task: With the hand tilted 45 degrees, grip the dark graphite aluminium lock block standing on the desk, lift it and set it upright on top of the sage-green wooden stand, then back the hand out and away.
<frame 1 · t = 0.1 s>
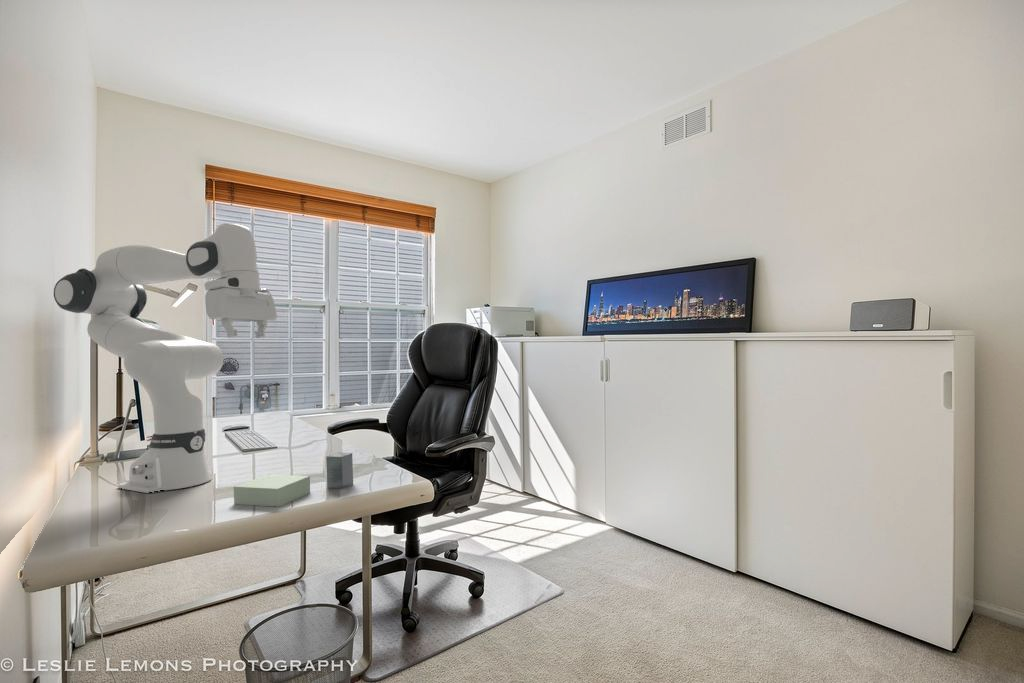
hand: (246, 337, 131), 39 cm above the table, tool pointing down, fingers open, 8 cm apart
lock block: (340, 486, 128), on the table
stand: (273, 498, 119), on the table
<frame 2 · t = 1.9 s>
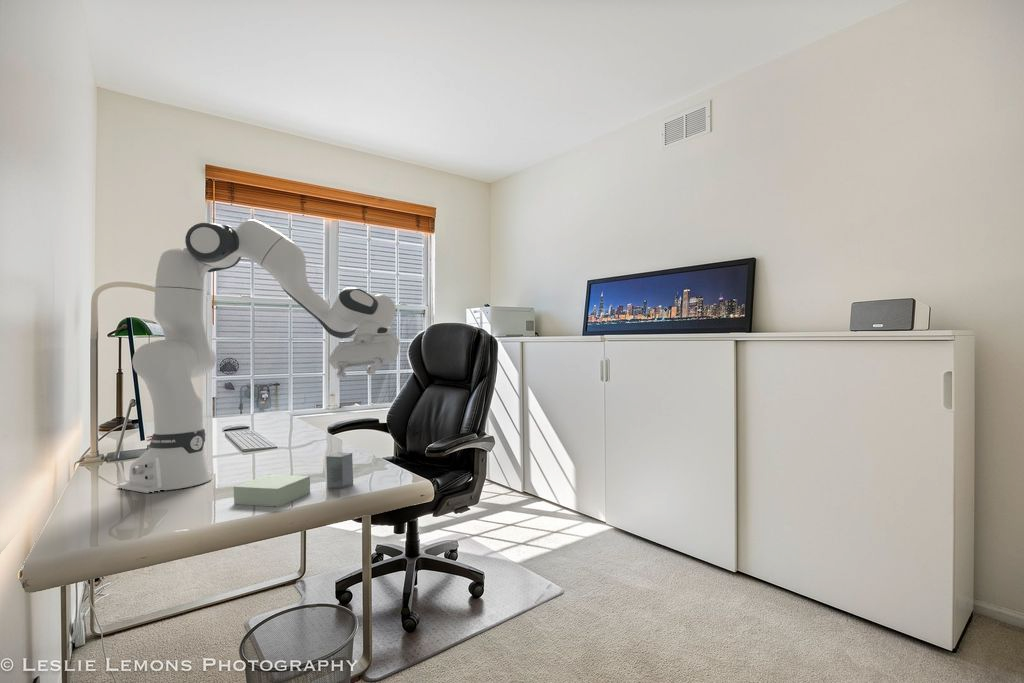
hand: (354, 375, 139), 28 cm above the table, tool tilted 45°, fingers open, 8 cm apart
nothing on the table moved.
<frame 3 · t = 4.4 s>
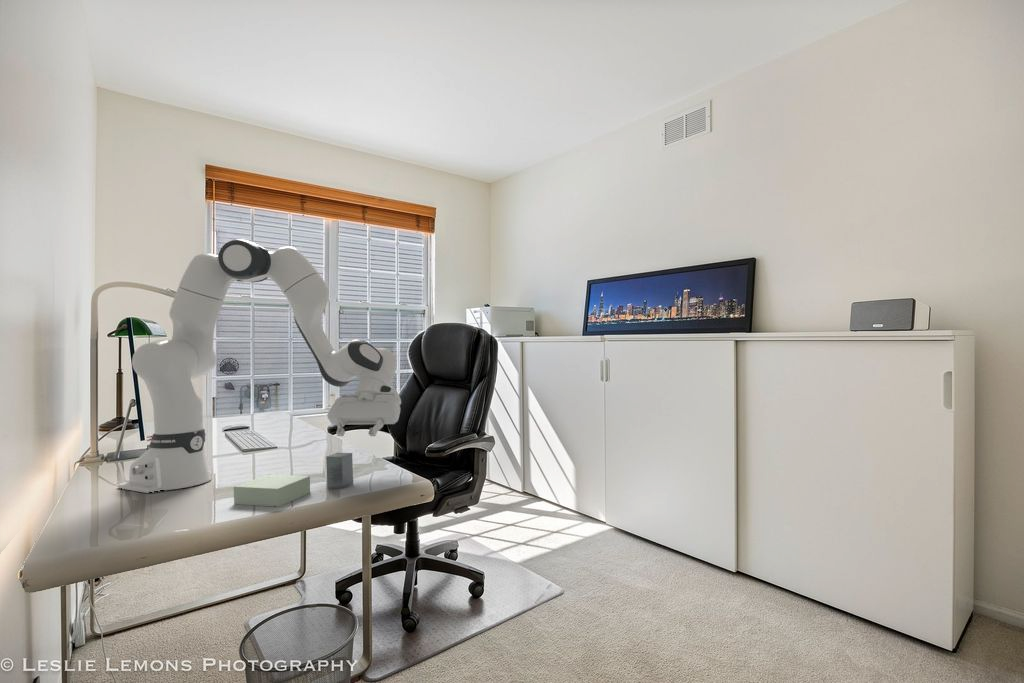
hand: (355, 435, 137), 11 cm above the table, tool tilted 45°, fingers open, 8 cm apart
nothing on the table moved.
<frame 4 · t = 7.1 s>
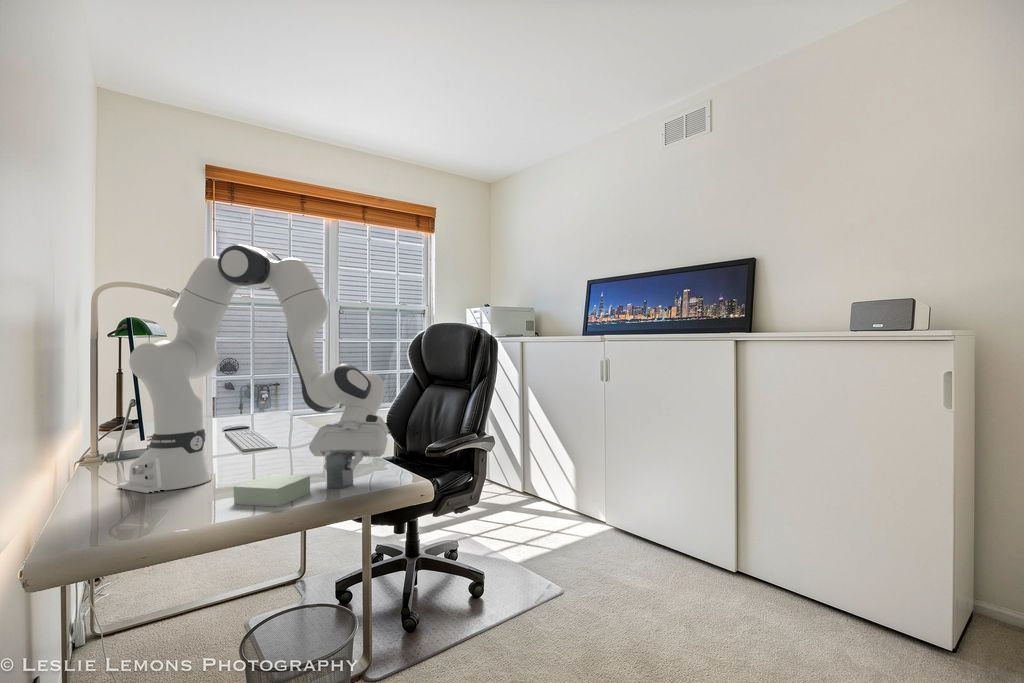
hand: (338, 469, 127), 4 cm above the table, tool tilted 45°, fingers closed on lock block, 5 cm apart
lock block: (340, 486, 128), on the table, touching gripper
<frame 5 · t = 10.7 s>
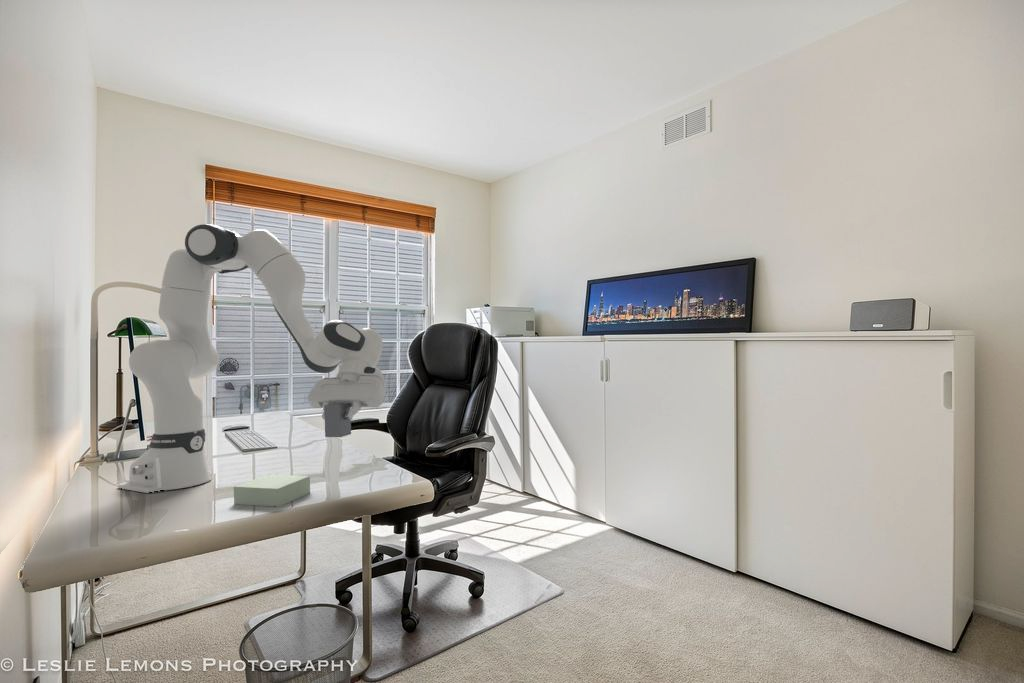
hand: (336, 418, 128), 17 cm above the table, tool tilted 45°, fingers closed on lock block, 5 cm apart
lock block: (338, 435, 128), point 13 cm above the table, touching gripper
when the fingers open (10 cm above the table, at t = 14.4 s): lock block drops 1 cm, resting on stand.
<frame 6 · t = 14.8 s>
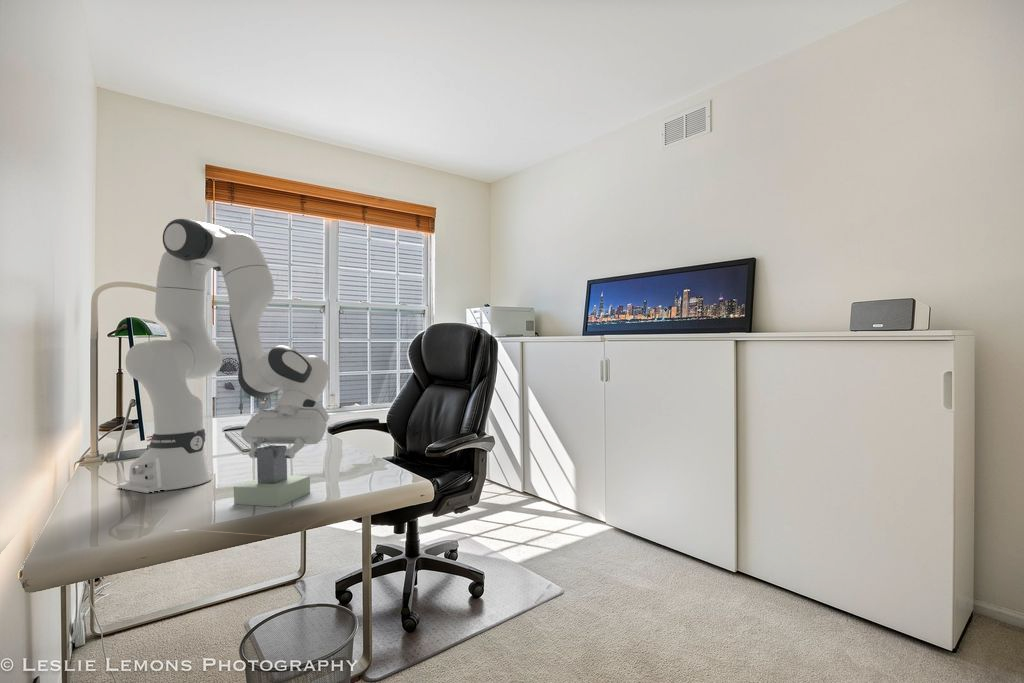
hand: (270, 457, 119), 10 cm above the table, tool tilted 45°, fingers open, 8 cm apart
lock block: (272, 481, 119), point 4 cm above the table, touching stand
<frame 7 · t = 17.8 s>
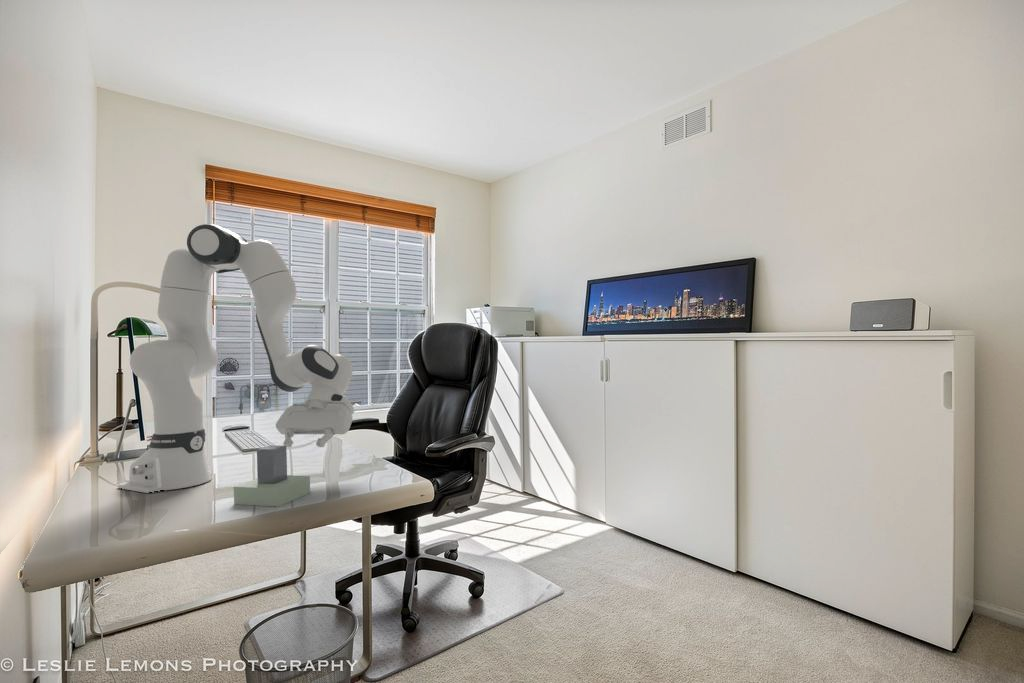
hand: (303, 446, 131), 10 cm above the table, tool tilted 45°, fingers open, 8 cm apart
nothing on the table moved.
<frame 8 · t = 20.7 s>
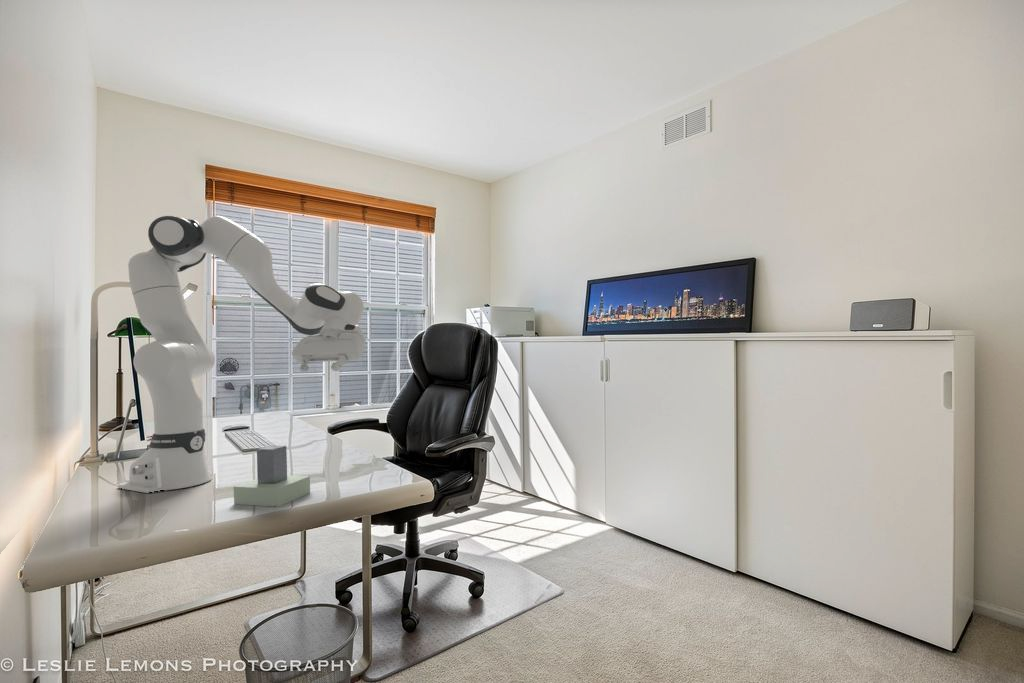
hand: (318, 370, 138), 29 cm above the table, tool tilted 45°, fingers open, 8 cm apart
nothing on the table moved.
at the end: lock block inside the target area on the stand (0.0 cm from its centre), point 4.0 cm above the stand's base; lock block tilted 0°; the gripper is holding nothing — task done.
